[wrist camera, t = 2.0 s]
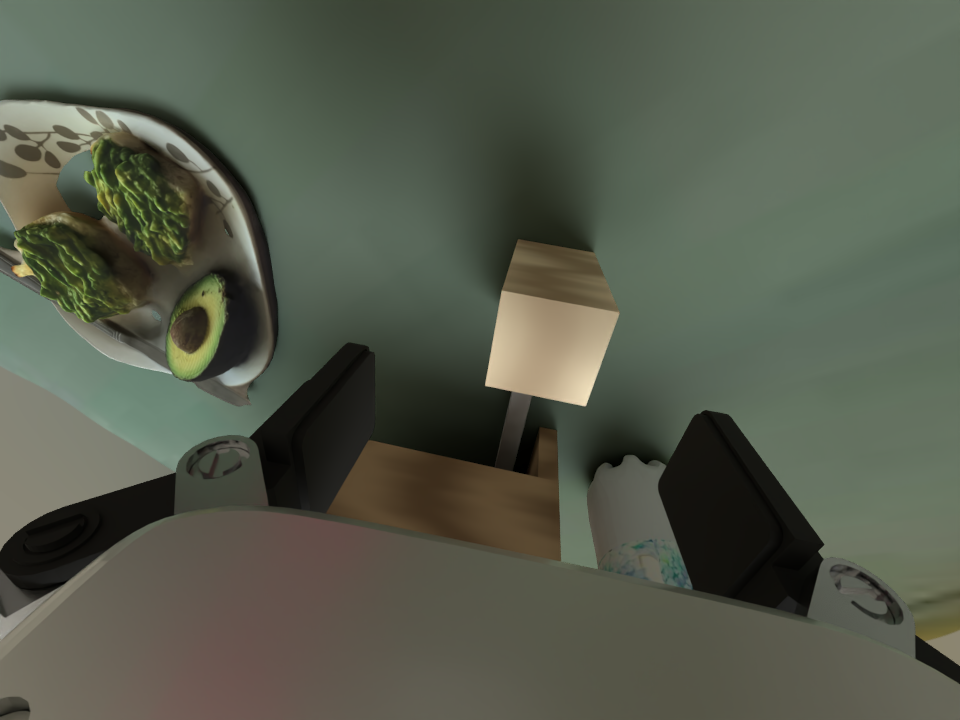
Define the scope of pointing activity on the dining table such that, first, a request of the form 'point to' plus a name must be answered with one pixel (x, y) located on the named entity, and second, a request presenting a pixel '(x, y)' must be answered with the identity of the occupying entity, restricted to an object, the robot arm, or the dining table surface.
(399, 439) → the dining table surface
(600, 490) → the bottle
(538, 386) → the beige mallet
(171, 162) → the salad plate
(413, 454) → the wooden box
